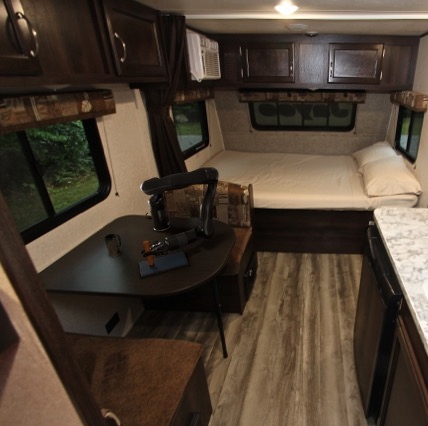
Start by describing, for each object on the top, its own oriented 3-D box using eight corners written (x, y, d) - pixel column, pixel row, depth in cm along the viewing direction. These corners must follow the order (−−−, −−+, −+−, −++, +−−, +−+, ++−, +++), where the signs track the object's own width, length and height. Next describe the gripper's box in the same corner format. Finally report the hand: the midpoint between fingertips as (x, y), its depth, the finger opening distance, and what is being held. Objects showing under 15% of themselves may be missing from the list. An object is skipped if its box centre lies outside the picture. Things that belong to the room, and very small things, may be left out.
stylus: (149, 264, 148) (142, 241, 142) (154, 263, 149) (148, 239, 143) (149, 267, 146) (143, 243, 140) (154, 265, 147) (148, 242, 141)
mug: (106, 256, 157) (100, 236, 152) (113, 250, 162) (107, 231, 157) (120, 257, 156) (114, 237, 151) (127, 251, 161) (121, 232, 156)
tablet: (139, 263, 151) (139, 261, 151) (184, 252, 161) (183, 250, 161) (141, 278, 140) (140, 276, 140) (188, 265, 150) (188, 263, 150)
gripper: (170, 230, 156) (135, 242, 145) (181, 240, 147) (145, 253, 136) (172, 242, 159) (138, 255, 148) (184, 252, 151) (149, 266, 139)
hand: (142, 254), depth 142 cm, fingers closed on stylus, 2 cm apart
